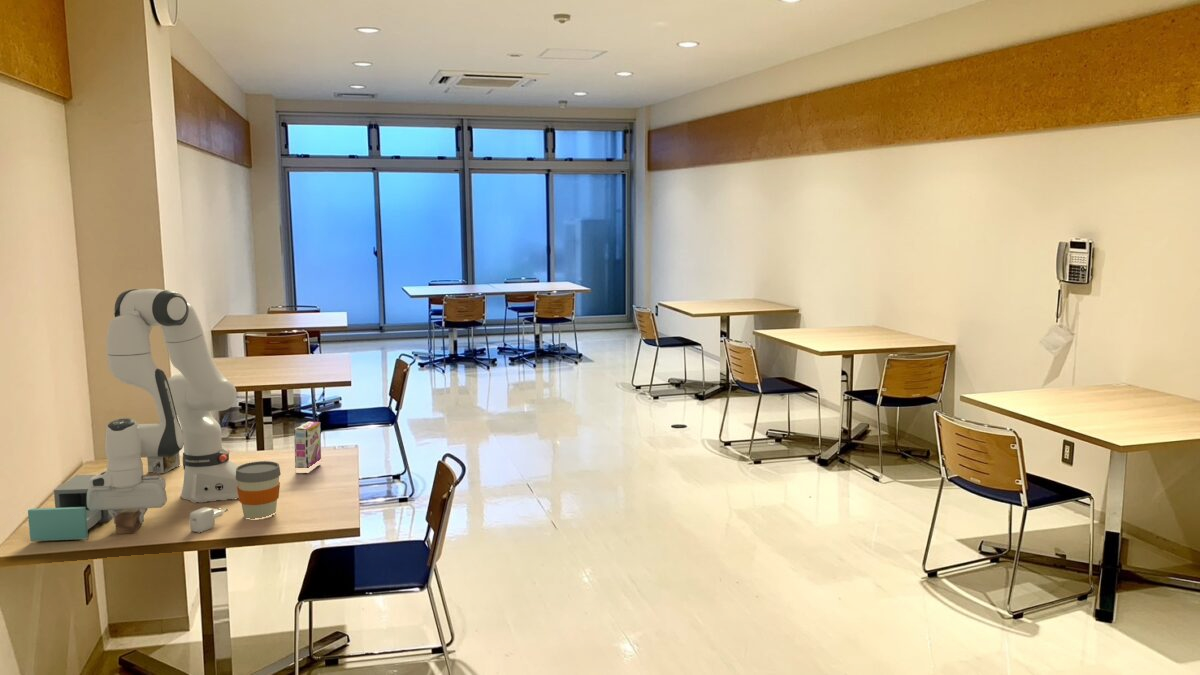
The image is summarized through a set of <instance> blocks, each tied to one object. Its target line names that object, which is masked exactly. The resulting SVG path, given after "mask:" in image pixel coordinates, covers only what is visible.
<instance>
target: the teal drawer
mask: <svg viewBox="0 0 1200 675" xmlns="http://www.w3.org/2000/svg"><path fill="white" fill-rule="evenodd" d="M27 516H28V517H27V518H28V528H29V540H30V542H42V541H64V540H65V541H69V540H86V539H88V538H89V534H88V531H89V529H91V528H92V527H94V526H95V525H96V524H97V523H99V522H98V521H99V520H100V519H102V517H101V510H86V507H68V508H55V507H47V508H46V507H45V508H43V507H42V508H29V509H27Z"/></svg>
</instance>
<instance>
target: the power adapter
mask: <svg viewBox="0 0 1200 675" xmlns="http://www.w3.org/2000/svg"><path fill="white" fill-rule="evenodd" d="M228 510H229V509H228V508H225V509H223V510H222V508H221V507H217V508H212V507H205V506H204V507H200V508H198V509H195V510H193V511H191V512H190V513H189V527H190V528H189V529H190V531H191V532H194V533H200V532H201V533H203V531H204V532H206V531H208V530H210V529H212V528H214V527H215V525H216V524H215V519H217V518H219V517H222V515H223V514H224V513H226V512H228Z"/></svg>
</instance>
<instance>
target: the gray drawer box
mask: <svg viewBox="0 0 1200 675" xmlns="http://www.w3.org/2000/svg"><path fill="white" fill-rule="evenodd" d="M95 475H96V474H76V475H74V476H73V477H72V478H70V479H68V480H67V481H65V482H64V483H62V484H61V485H60V486H58V487H56V488H55V489H53V496H54V508H68V507H86V510H89V509H88V508H87V491H88V489H89V488H90V486H89V480H90V479H91V478H92V477H94V476H95ZM122 510H123V509H117V510H116V511H115V512H116V513H117V514H119V513H120V512H121V511H122ZM101 517H102V519H100V520H99V521H98V522H97V523H109V522H110V521H111V520H114V519H113V518H112V517H111V516H110V514H109V511H108V510H101Z"/></svg>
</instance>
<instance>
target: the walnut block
mask: <svg viewBox="0 0 1200 675" xmlns="http://www.w3.org/2000/svg"><path fill="white" fill-rule="evenodd" d="M141 513H142V512H140V509H123V510H122V511H121V512H120V513H118V514H117V515H116V516H115V524H114V525H115V534H116V535H117V534H119V535H121V534H134V533H135V532H136V531H137V530H138V529H139V528H140V527H141V526H142V525H143V523H144V522H143V523H136V521H137V520H136V517H137V516H138V515H141ZM137 528H138V529H137ZM136 529H137V530H136Z"/></svg>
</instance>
